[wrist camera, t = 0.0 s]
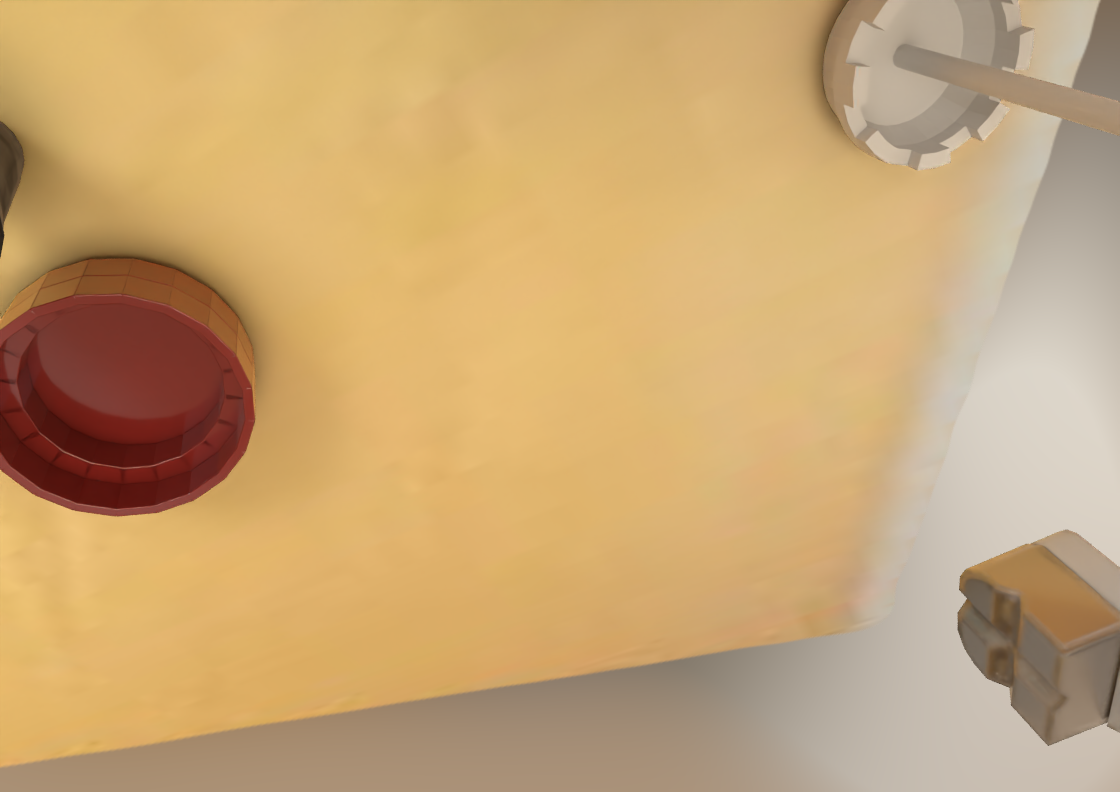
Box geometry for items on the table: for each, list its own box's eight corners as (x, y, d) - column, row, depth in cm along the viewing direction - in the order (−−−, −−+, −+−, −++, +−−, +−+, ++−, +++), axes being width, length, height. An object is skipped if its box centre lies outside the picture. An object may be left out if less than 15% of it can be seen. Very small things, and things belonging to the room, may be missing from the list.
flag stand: (927, 164, 66) (1332, 342, 41) (781, 130, 61) (1137, 308, 36) (1010, -24, 60) (1536, 50, 35) (855, -78, 55) (1338, -36, 31)
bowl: (-57, 299, 51) (-91, 346, 46) (195, 222, 53) (189, 259, 48) (73, 491, 59) (57, 547, 54) (288, 418, 61) (291, 467, 56)
